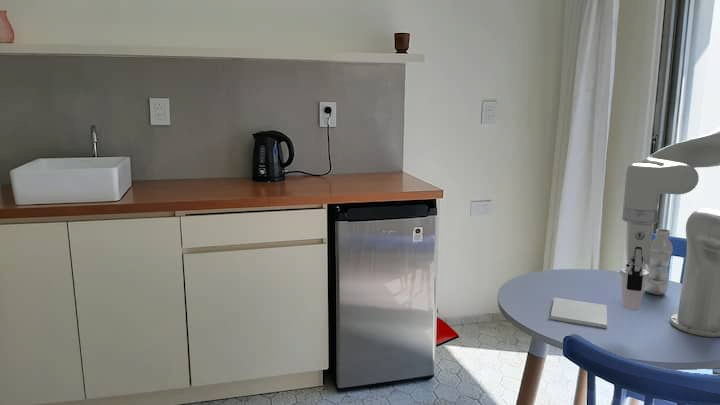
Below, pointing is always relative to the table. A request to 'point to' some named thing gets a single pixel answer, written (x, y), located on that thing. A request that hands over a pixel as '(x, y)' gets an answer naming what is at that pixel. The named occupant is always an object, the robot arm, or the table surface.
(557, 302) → the tile
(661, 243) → the plastic bottle
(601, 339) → the table surface
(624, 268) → the smoothie
